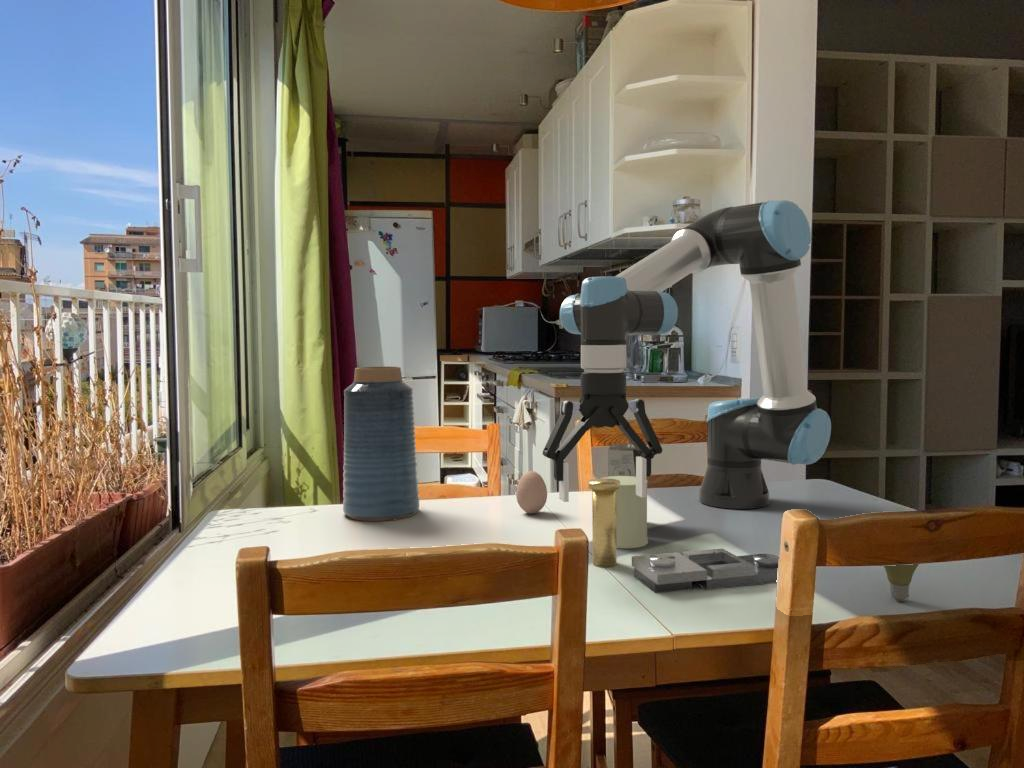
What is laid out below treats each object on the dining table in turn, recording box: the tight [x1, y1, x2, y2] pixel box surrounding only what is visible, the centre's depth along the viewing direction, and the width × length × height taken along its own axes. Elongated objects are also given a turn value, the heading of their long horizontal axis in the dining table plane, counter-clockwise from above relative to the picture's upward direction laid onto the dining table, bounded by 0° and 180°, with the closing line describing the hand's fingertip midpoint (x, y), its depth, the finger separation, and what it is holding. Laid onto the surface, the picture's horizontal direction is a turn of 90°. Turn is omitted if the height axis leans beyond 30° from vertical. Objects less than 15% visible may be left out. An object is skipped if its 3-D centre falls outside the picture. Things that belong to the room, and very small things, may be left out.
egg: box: [515, 470, 548, 515], centre depth 174 cm, size 7×7×9 cm
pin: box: [587, 477, 620, 568], centre depth 136 cm, size 5×5×14 cm
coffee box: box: [607, 442, 641, 477], centre depth 162 cm, size 9×6×16 cm
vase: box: [342, 365, 420, 522], centre depth 175 cm, size 16×16×32 cm
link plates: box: [631, 548, 780, 593], centre depth 128 cm, size 24×10×4 cm, turn 104°
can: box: [602, 476, 649, 550], centre depth 150 cm, size 9×9×12 cm
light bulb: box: [883, 563, 920, 602], centre depth 117 cm, size 6×6×10 cm
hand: (602, 498), depth 136 cm, fingers open, 13 cm apart
